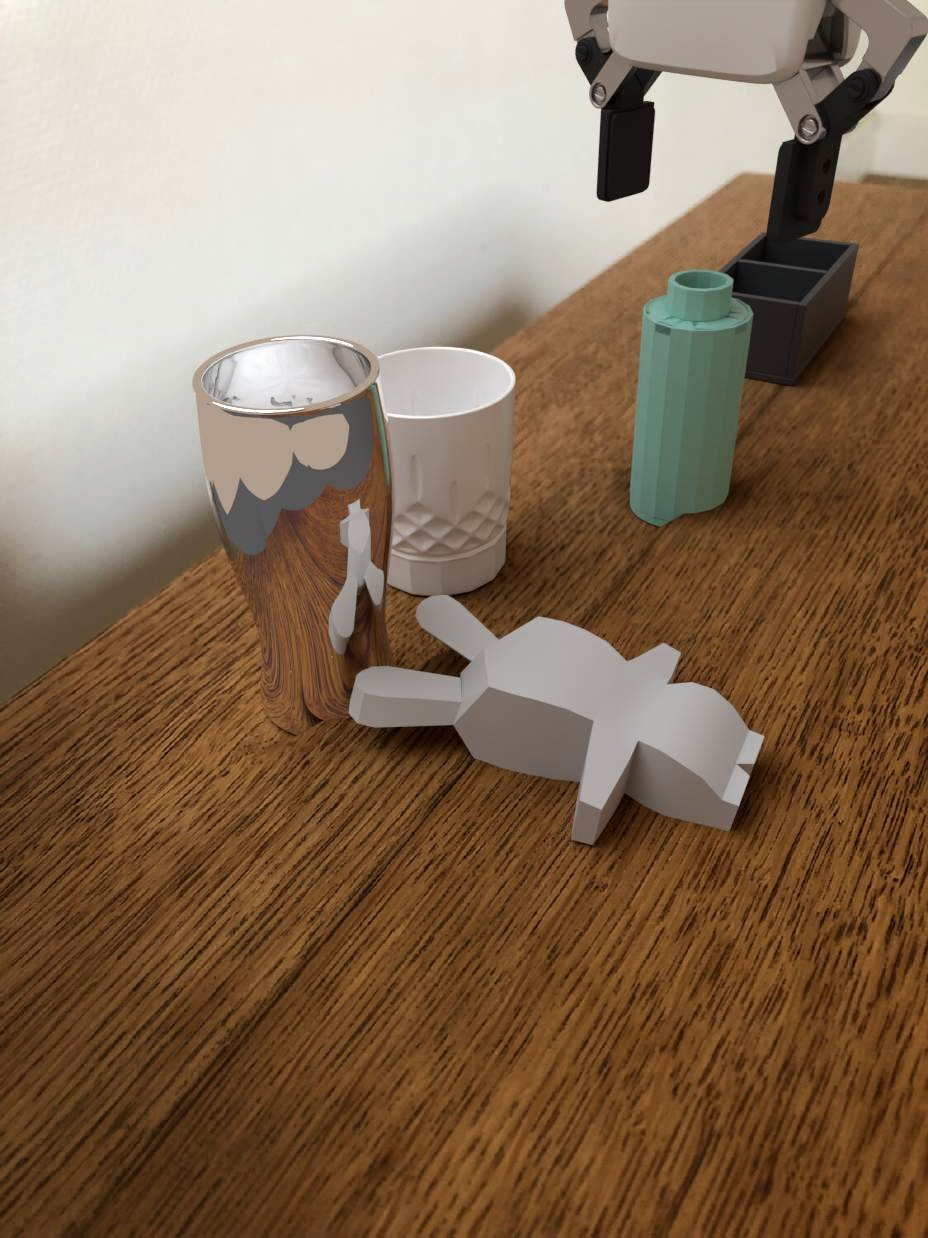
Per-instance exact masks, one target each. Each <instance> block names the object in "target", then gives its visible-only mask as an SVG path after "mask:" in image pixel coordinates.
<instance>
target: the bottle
mask: <svg viewBox="0 0 928 1238" xmlns="http://www.w3.org/2000/svg"><path fill="white" fill-rule="evenodd" d="M733 281H734V280H733V279H732V278H731V277H730V276H728V275H727V274H724V273H721V272H718V271H716V270H711V269H688V270H687V269H686V270H681V271H678V272H675V273H673V274H671V275H670V276H669V278H668V280H667V292H666V294H663V295H660V296H658V297H655V298H652V299H650V300H649V301H647V302H646V304H645V305H644V306H643V308H642V320H641V333H640V334H641V335H640V346H639V347H640V348H639V360H638V372H637V373H638V374H637V387H636V401H635V402H636V403H635V415H634V428H633V429H634V430H633V441H632V443H633V444H632V456H631V457H632V458H631V470H630V483H629V484H630V485H629V487H630V488H629V506H630V509H631V511H632V513H633V514H634V515H635V516H637V517H638V519H640V520H642V521H644V522H645V523H648V524H650V525H653V526H655V527H659V528H661V527H663V526H665V525H666V524H668V523H670V522H672V521H673V520H675V519H677V518H679V517H680V516H682V515H683V514H698V513H702V512H703V513H704V512H706V511H711V510H713V509H715V508H717V507H718V506H720V505H722V504H723V503H725V501H726V499H727V497H728V495H729V493H730V492H729V491H730V484H731V476H732V470H733V464H734V463H733V462H734V455H735V449H736V442H737V433H738V428H739V427H738V426H739V420H740V413H741V405H742V398H743V391H744V385H745V378H746V377H745V371H746V363H747V356H748V349H749V342H750V335H751V327H752V320H753V312H752V310H751V308H750V306H749V305H747V304H745V303H744V302H742V301H740V300H738V299H735V298H732V289H733Z"/></svg>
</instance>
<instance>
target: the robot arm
mask: <svg viewBox="0 0 928 1238" xmlns="http://www.w3.org/2000/svg"><path fill="white" fill-rule="evenodd" d="M563 4H564V11H565V14H566V18H567V21H568V24H569V27H570V31H571V35H572V38H573V41H574V42H576V46H575V49H574V55H575V59H576V60H575V61H576V63H577V64H578V66H579V68H580V70H581V72H582V73H583V75H584V77H585V78H586V80H587V82H588V84H589V85H590V86H589V89H588V90H589V91H588V97H589V101H590V103H591V105H592V106H593V107H594V108H596V109H597V110H598V109H600V116H599V118H600V119H599V134H598V135H599V138H598V156H597V175H596V176H597V177H596V192H595V193H596V198H597V200H599V201H601V202H606V203H610V202H614V201H618V200H620V199H621V200H622V199H624V198H628V197H631V196H635V195H638V194H642V193H644V192H645V191H647V190H648V189H649V187H650V182H651V170H652V158H653V156H652V155H653V146H654V145H653V144H654V132H655V120H656V108H655V101H651V100H645V96H646V95H647V93H648V92H649V91H650V90H651V88H652V87H653V85H654V84H655V83H656V81H657V80H658V79H659V77H660V76H661V75H662V73H663V72H664V73H670V74H678V75H682V76H683V75H685V76H692V77H700V78H707V79H712V80H713V79H714V80H721V81H729V82H737V83H747V84H753V85H772V87H773V89H774V92H775V93H776V95H777V98H778V100H779V102H780V105H781V106H782V109H783V111H784V113H785V116H786V117H787V119H788V121H789V124H790V126H791V128H792V131H793V133H794V137H793V138H792V139H788V140H785V141H782V143H781V144H780V146H779V149H778V152H777V158H776V165H775V172H774V179H773V185H772V193H771V199H770V205H769V212H768V219H767V223H766V224H767V226H766V232H765V233H766V236H767V237H768V238H769V241H770V242H773V243H777V244H785V243H788V242H790V241H793V240H796V239H798V238H801V237H806V236H809V235H812V234H815V233H816V232H818V231H819V229H820V228H821V225H822V220H823V219H825V217H826V215H827V213H828V211H829V209H830V205H831V200H832V195H833V190H834V184H835V177H836V172H837V168H838V162H839V157H840V151H841V147H842V146H841V145H842V140H843V136H844V135H847V134H850V133H852V132H853V131H854V130H855V129H856V128H857V127H858V124H859V122H860V121H861V120H862V119H864V117H866V116H867V115H868V114H869V113H870V112H871V111H872V110H874V109H876V107H878V106H879V104H881V103H882V102H883V101H884V100H885V99H887V98H888V97H889V96H890V95H891V93H892V92H893V91H894V88H895V84H896V80H897V79H898V77H899V76H900V75H902V73H903V72H904V71H905V69H906V68H907V66H908V65H909V64H910V61H911V60H912V59H913V57H914V56H915V54H916V52H917V51H918V50H919V48H920V47H921V45H922V44H923V42H924V41H925V39H926V38H927V36H928V17H927V16H926V14H925V13H923V12H922V11H921V10H920V9H919V8H917V7H916V6H914V5H913V4H912V3H911V2H910V1H909V0H564V1H563ZM862 31H863V32H864V33H865V34H866V36H867V40H868V45H867V48H866V51H865V53H864V54H863V56H862V58H861V59H862V60H861V62H860V63H859V65H858V67H857V68H856V69H855V71H853V72H851V73H850V74H849V75H848V76H846V78H845V77H844V74H843V72H842V70H841V68H843V67H844V66H847V65H848V64H849V63H850V62H851V61H852V60H853V58H854V57H855V55H856V52H857V49H858V47H859V42H860V38H861V34H862Z"/></svg>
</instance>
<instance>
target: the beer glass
mask: <svg viewBox="0 0 928 1238" xmlns="http://www.w3.org/2000/svg"><path fill="white" fill-rule="evenodd" d="M377 357H378V356H377V355H376V354H375V352H373V351H372V350H371V349H370V348H368V347H366V346H364V345H362V344H360V343H358V342H355V341H352V340H349V339H345V338H341V337H336V336H329V335H322V334H321V335H320V334H290V335H289V334H287V335H277V336H271V337H263V338H258V339H253V340H250V341H246V342H242V343H239V344H236V345H233V346H231V347H228V348H225V349H223V350H221V351H219V352H217V353H215V354H213V355H212V356H210V357H209V358H207V359H206V360H204V361H202V363H201V364H200V365H199V366H198V368H196V370H195V372H194V373H193V376H192V380H191V385H192V389H193V393H194V399H195V407H196V408H195V409H196V419H197V428H198V437H199V446H200V454H201V460H202V467H203V473H204V479H205V485H206V490H207V493H208V494H207V495H208V499H209V502H210V507H211V511H212V515H213V519H214V523H215V526H216V529H217V532H218V534H219V537H220V541H221V543H222V546H223V548H224V551H225V554H226V556H227V559H228V561H229V564H230V567H231V568H232V571H233V572H234V575H235V578H236V580H237V582H238V585H239V587H240V590H241V592H242V594H243V597H244V599H245V601H246V603H247V606H248V608H249V611H250V614H251V617H252V618H253V621H254V624H255V628H256V631H257V634H258V638H259V644H260V645H259V646H260V651H261V653H260V654H261V665H260V666H261V669H260V700H261V705H262V708H263V711H264V712H265V715H266V716H267V717H268V719H269V720H270V721H271V722H272V723H273V724H274V725H276V726H277V727H278V728H280V729H281V730H283V731H284V732H286V733H290V734H292V735H295V736H299V735H300V734H302V733H304V732H306V731H309V730H310V729H311V728H313V727H315V726H316V725H318V724H320V723H322V722H323V721H331V720H338V719H339V720H340V719H344V718H348V717H352V716H351V715H350V714H349V705H350V699H351V695H352V691H353V687H354V683H355V679H356V675H357V674H359V673H360V672H361V671H363V670H365V669H368V668H370V667H378V666H390V667H396V668H399V667H398V665H397V661H396V658H395V655H394V652H393V649H392V646H391V642H390V638H389V636H388V628H387V622H386V621H387V620H386V619H387V618H386V617H387V616H386V615H387V614H386V605H387V593H388V585H389V584H388V576H389V568H390V561H391V552H392V543H393V534H394V518H395V501H396V498H395V474H394V461H393V452H392V443H391V435H390V428H389V422H388V416H387V410H386V404H385V399H384V393H383V387H382V381H381V374H380V362H379V360H378V358H377Z"/></svg>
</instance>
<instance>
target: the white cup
mask: <svg viewBox="0 0 928 1238" xmlns="http://www.w3.org/2000/svg"><path fill="white" fill-rule="evenodd" d="M376 357H377V358H378V360H379V362H380V374H381V381H382V387H383V393H384V399H385V404H386V410H387V416H388V422H389V428H390V435H391V443H392V452H393V461H394V474H395V498H396V501H395V518H394V534H393V543H392V552H391V561H390V568H389V576H388V584H387V585H389V586H390V587H393V588H396V589H398V590H400V591H403V592H405V593H408V594H410V595H414V596H423V597H430V596H432V595H448V596H455V595H460V594H466V593H470V592H473V591H475V590H476V589H478V588H480V587H482V586H485V585H486V584H488V583H490V582H491V581H493V580H495V578H496V577H497V575H498V574H499V572H500V571H501V569H502V568H503V567H504V565H505V563H506V551H507V524H508V523H507V519H508V514H509V511H510V503H511V491H512V489H511V486H512V475H513V474H512V473H513V464H514V463H513V462H514V461H513V459H514V435H515V433H514V432H515V408H516V388H517V387H516V386H517V385H516V384H517V377H516V373H515V371H514V369H512V367H511V366H510V365H509V364H508V363H507V362H505V361H504V360H502V359H500V358H498V357H497V356H495V355H492V354H490V353H486V352H482V351H479V350H476V349H471V348H465V347H456V346H455V347H454V346H423V347H422V346H421V347H412V348H405V349H400V350H395V351H391V352H387V353H385V354H384V353H383V354H381V355H378V356H376Z"/></svg>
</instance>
